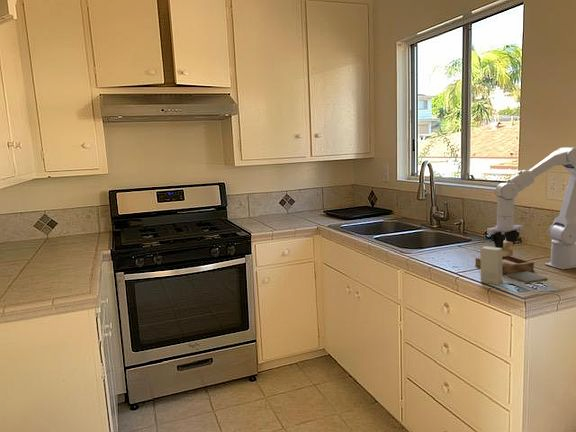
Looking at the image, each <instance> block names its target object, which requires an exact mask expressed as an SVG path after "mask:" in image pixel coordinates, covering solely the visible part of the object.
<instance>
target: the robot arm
mask: <svg viewBox="0 0 576 432" xmlns="http://www.w3.org/2000/svg"><path fill="white" fill-rule="evenodd" d="M556 166H563V167H564V168H565V169H566V170H567V171H568V173H569V174H570V177H569V179H568V183H567V187H566V190H565V194H564V197H563V201H562V204H561V207H560V211H559V215H558V216H557V217H555V218H554V219H553V223H552V224H551V225H550V226H549V228H548V236H549V237H550V238H551V248H550V262H544V265H545V266H550V267H552V268H555V269H559V270H568V269H574V268H576V147H575V146H574V147H572V146H571V147H568V146H561V147H559V148H558V149H557V150H554V151H553V152H551V153H550V154H549V155H548V156H546V157H545V158H544V159H542V160H541V161H539V162H538V163H537V164H535V165H534V166H533V167H531V168H529V170H528V169H523V170H518V171H516V174H515V175H513V176H512V177H511V178H507V179H506V180H505V182H501V183H499V184H497V186H496V187H495V189H494V194H495V196H496V197H497V199H496V225H495V226H493V227H488V228H486V234H487V235H489V236H490V237H491V238H492V240H493V243H494V245H495V246H494V247H497V248H502V250H503V241H504V240H506V241H510V242H513V247H514V246H515V243H516V241H517V239H518V238H519V236H520V232H522V231H523V229H524V226H523V225H522V224H515V223H514V222H515V199H516V197H517V196H518V194H519V193H520V192H522V191H523V190H524V189H526V188H527V187H529V186H530V185H532V184H534V182H535V179H536V177H538V176H540V175H542V174H544V173H545V172H547V171H548V170H550V169H552V168H554V167H556ZM503 233H504V234H503Z"/></svg>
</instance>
